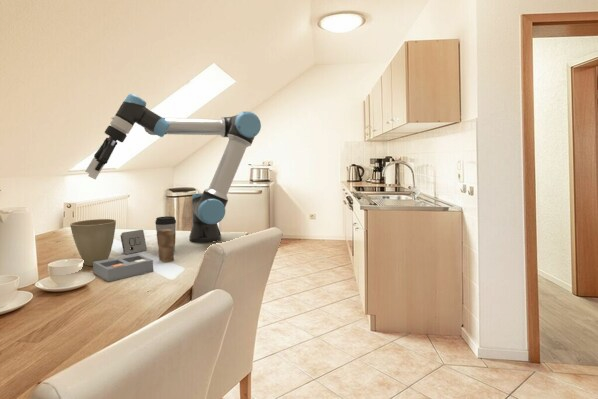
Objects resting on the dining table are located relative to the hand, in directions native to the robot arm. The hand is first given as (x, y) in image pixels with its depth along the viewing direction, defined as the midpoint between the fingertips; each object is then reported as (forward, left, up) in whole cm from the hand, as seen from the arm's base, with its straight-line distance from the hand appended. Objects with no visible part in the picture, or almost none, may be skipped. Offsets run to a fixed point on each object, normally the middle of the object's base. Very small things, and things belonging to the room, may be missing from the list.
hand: (90, 175), depth 141 cm
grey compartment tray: (+1, +30, -33) cm, 44 cm away
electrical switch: (-14, +4, -33) cm, 36 cm away
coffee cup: (-23, +16, -33) cm, 43 cm away
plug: (-17, +27, -33) cm, 46 cm away
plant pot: (+3, +11, -33) cm, 35 cm away
